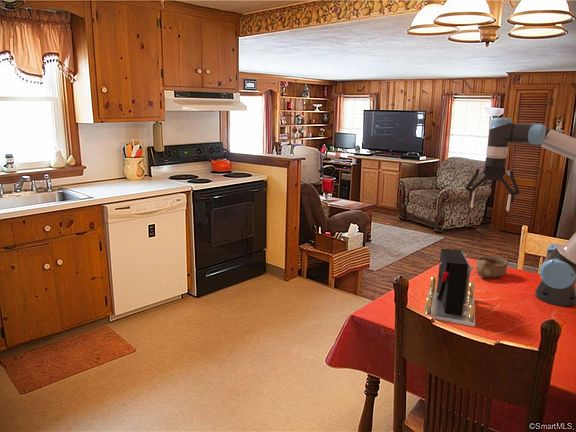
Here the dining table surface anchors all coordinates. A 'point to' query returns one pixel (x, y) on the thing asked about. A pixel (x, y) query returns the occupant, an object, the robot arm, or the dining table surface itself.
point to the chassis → (437, 311)
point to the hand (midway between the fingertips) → (489, 209)
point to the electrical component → (453, 281)
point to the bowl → (491, 266)
